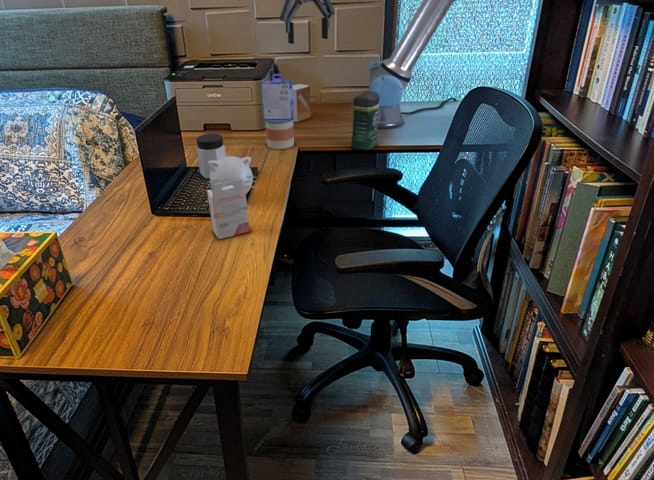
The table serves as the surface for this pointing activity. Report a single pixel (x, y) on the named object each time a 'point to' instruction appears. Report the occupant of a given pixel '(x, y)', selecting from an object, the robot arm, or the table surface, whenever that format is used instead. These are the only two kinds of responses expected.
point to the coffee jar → (365, 120)
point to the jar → (209, 151)
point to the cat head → (231, 171)
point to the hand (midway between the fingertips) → (308, 41)
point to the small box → (301, 102)
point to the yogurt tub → (280, 133)
